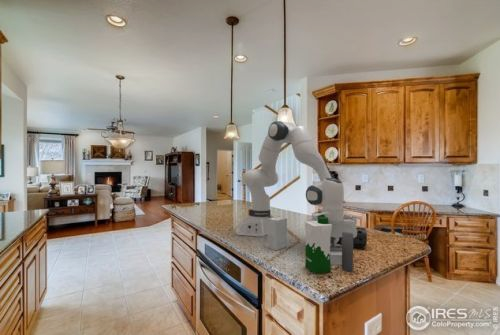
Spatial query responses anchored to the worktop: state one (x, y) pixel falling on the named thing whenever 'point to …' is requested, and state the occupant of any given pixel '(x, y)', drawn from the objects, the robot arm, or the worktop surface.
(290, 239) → the worktop surface
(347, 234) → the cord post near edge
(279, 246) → the skincare box
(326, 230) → the soya milk
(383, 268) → the worktop surface
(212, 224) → the worktop surface
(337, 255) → the panel
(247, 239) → the worktop surface
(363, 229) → the muzzle brake
